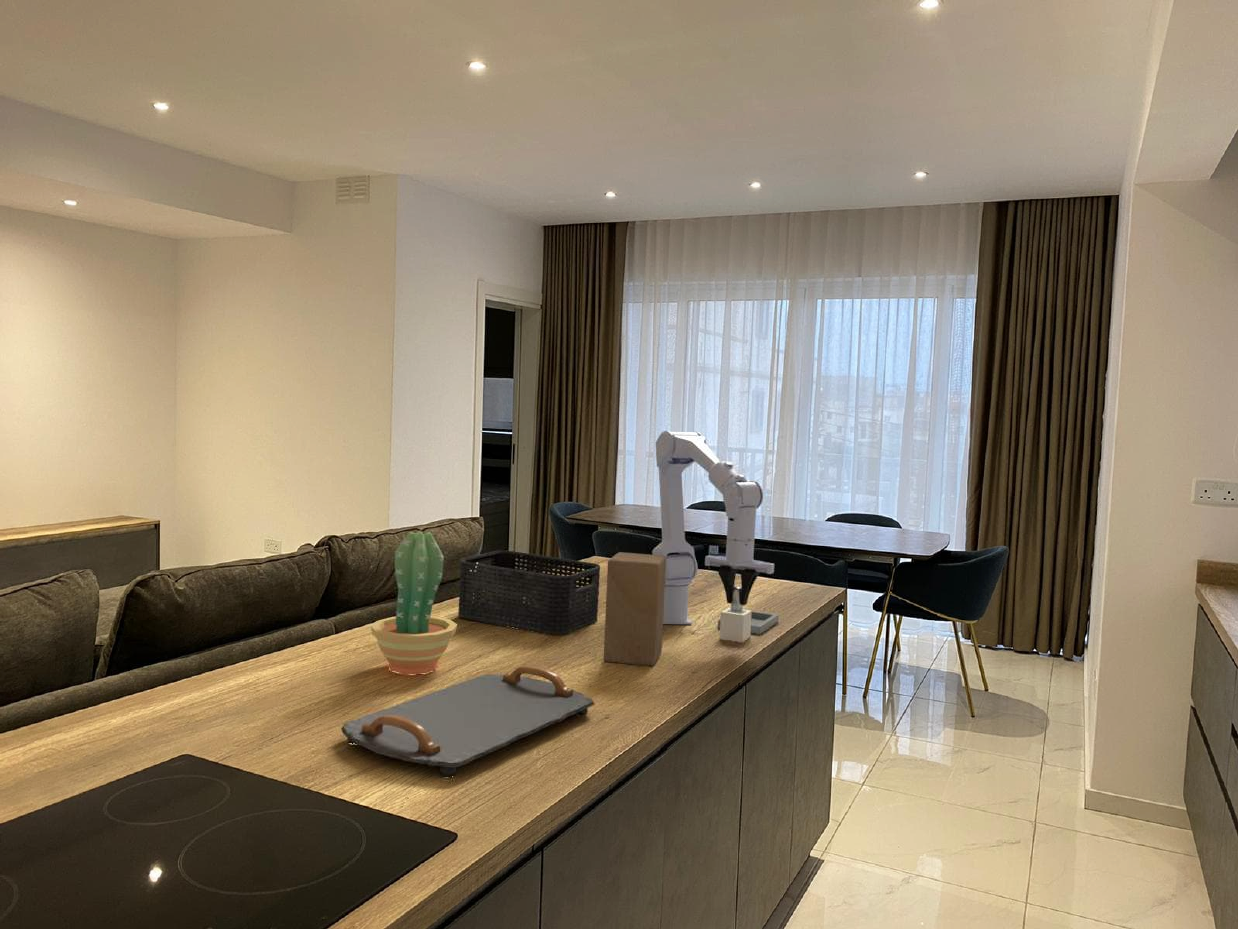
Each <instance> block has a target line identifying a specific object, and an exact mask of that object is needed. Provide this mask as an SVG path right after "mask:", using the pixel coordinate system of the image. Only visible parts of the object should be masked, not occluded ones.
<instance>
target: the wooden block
mask: <svg viewBox="0 0 1238 929" xmlns="http://www.w3.org/2000/svg"><path fill="white" fill-rule="evenodd" d="M606 573H607V575H606V594H605V595H606V596H605V616H604V618H605V620H604V622H605V623H604V638H603V639H604V640H603V642H604V643H603V662H607V663H617V664H627V665H635V664H637V666H645V665H646V667H654V665H655V664H656V663H657V660H658V659H659V657H660V656H661V653H662V651H663V635H664V633H663V632H664V631H663V630H664V624H663V615H664V594H665V573H666V557H665V556H661V555H653V554H646V553H636V552H635V553H633V552H622V551H621V552H620V551H619V552H617V553H616V554H614V555H613V556H611V558H609V559H608V560H607V572H606Z"/></svg>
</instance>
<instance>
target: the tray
mask: <svg viewBox="0 0 1238 929" xmlns="http://www.w3.org/2000/svg"><path fill="white" fill-rule="evenodd" d="M742 610H744V608H742ZM749 611H752V612H751V630H750V634H752V633H756V634H755V635H759V634H760V635H762V634H763V633H765V632H766V631H768V630H769V629H771V628H770V626H772V627H774V626H775V625H776V624H778V623H779V614H777V613H768V612H762V611H755V610H749ZM720 620H721V618H720V619H718V620H717V629H720ZM777 622H778V623H777ZM775 623H776V624H775ZM774 624H775V625H774ZM773 625H774V626H773ZM768 628H769V629H768ZM764 631H765V632H764ZM761 633H762V634H761Z"/></svg>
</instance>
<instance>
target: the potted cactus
mask: <svg viewBox="0 0 1238 929" xmlns="http://www.w3.org/2000/svg"><path fill="white" fill-rule="evenodd" d="M440 548H441V547H440V546H439V545H438V542H437V541H436V539H435V538H434V536H433V534H432V533H431V532H430V531H428V532H425V533H423V531H419V530H418V531H417V532H413V531H409V532H408V533H407V534H406V536H405V537H404V538H403V539H402V541H401V543H400V544H399V545H398V546H397V549H396V551H395V553H394V571H395V573H394V575H395V579H396V585H397V589H398V591H397V592H398V593H397V602H396V613H395V616H391V617H387V618H383V619H379V620H376V621H375V622H373V623H372V625H370V628H371V634H372V636H374V637H375V638H376V640H377V643H378V646H379V650H380V652H381V653H382V654H383V656H384V657H385V659H386V660H387V662H388V667H389V668H390V670H391V671H396V672H399V673H401V674H421V673H427V672H430V671H434V670H436V668H437V667H438V668H439V664H438V661H439V660H440V659H441V657H442V656H443V655H444V653H445V652H446V651H447V648H448V645H449V644H450V640H451V639H452V637H453V636H454V635H455V633H456V631H457V626H458V624H457V623H456V622H454V621H453V620H452V619H448V618H444V617H439V616H434V615H433V616H432V615H431V614H432V609H433V607H434V606H433V605H434V602H435V595H436V593H437V591H438V589H439V586H440V584H441V582H442V579H443V572H444V571H443V570H444V562H445V561H444V560H445V556H444V553H442V550H441V549H440ZM388 667H387V668H388ZM436 671H437V670H436Z"/></svg>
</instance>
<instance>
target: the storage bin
mask: <svg viewBox="0 0 1238 929" xmlns="http://www.w3.org/2000/svg"><path fill="white" fill-rule="evenodd" d="M486 561H490V563H489V564H488V565H487V564H483V563H481V562H486ZM600 571H601V565H600V564H598V563H593V562H587V561H579V560H575V559H574V560H573V559H569V558H568V559H566V558H561V557H554V556H553V557H552V556H548V555H541V554H535V553H533V554H532V553H527V552H521V551H513V550H495V551H490V552H488V553H487V552H486V553H482V554H477V555H473V556H468V557H464V558H461V559H460V574H459V575H460V577H459V596H458V598H459V599H458V611H457V612H458V614H457V615H458V616H459V617H460V618H463V619H466V620H469V619H471V620H470V621H474V620H476V622H479V621H481V623H485V624H490V623H492V624H491V625H495V624H496V625H495V626H500V625H501V627H505V626H509V627H508V628H510V627H514V628H513V629H515V628H518V629H517V630H521V629H522V630H521V631H526V630H529V631H528V632H531V631H533V632H532V633H536V632H537V634H542V633H545V634H544V635H552V636H555V635H556V636H560V635H561V636H563V635H568V634H570V633H572V632H576V631H578V630H580V629H582V628H585V627H588V626H590V625H592V624H594V623H597V622H598V612H599V609H598V608H599V595H600V591H599V590H600V577H601V574H600Z"/></svg>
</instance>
